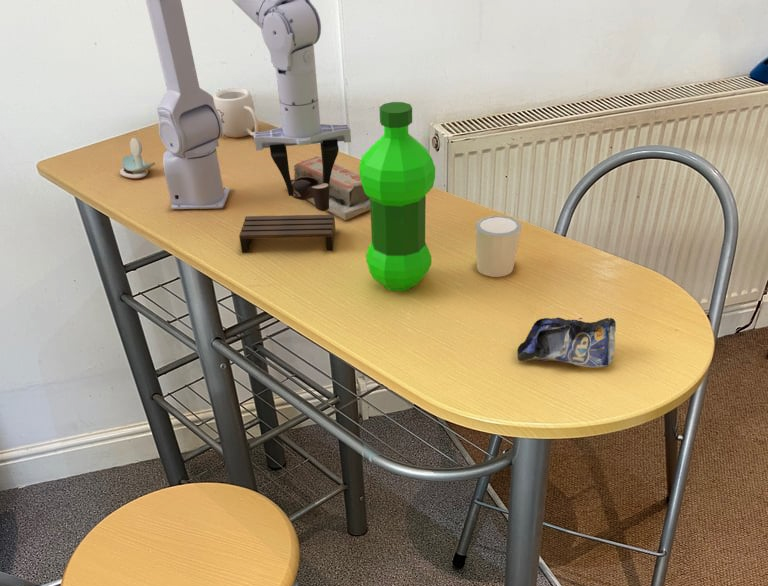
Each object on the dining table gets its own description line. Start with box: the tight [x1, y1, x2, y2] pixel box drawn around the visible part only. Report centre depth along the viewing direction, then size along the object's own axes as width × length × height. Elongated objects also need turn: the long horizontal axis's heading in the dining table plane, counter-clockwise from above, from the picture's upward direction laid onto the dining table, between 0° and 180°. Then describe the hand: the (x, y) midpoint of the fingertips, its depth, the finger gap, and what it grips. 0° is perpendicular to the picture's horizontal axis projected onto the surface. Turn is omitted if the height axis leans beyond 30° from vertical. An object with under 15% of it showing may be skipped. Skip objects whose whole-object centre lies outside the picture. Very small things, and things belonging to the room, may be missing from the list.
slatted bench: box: [238, 214, 337, 254], centre depth 126 cm, size 15×7×3 cm, turn 89°
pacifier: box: [119, 137, 156, 179], centre depth 148 cm, size 7×6×6 cm
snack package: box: [516, 317, 617, 368], centre depth 101 cm, size 12×6×12 cm
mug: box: [212, 87, 260, 139], centre depth 159 cm, size 12×8×8 cm
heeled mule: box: [291, 176, 330, 212], centre depth 121 cm, size 4×11×4 cm, turn 34°
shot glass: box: [475, 215, 522, 278], centre depth 117 cm, size 7×7×7 cm
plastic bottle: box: [358, 101, 436, 292], centre depth 108 cm, size 10×10×25 cm
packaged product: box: [293, 156, 370, 221], centre depth 137 cm, size 18×5×10 cm
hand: (308, 191), depth 121 cm, fingers closed on heeled mule, 5 cm apart
